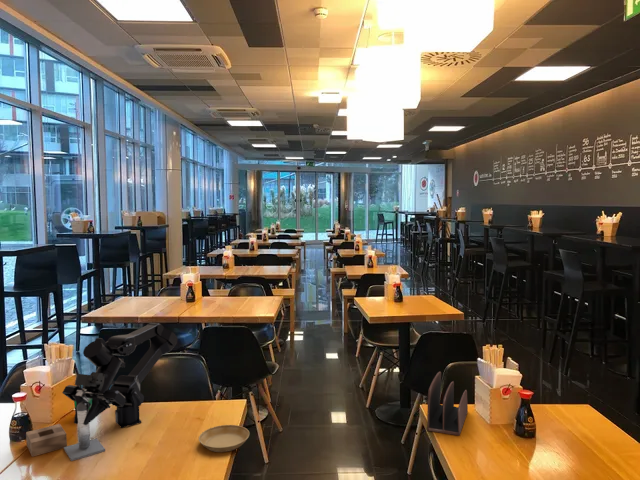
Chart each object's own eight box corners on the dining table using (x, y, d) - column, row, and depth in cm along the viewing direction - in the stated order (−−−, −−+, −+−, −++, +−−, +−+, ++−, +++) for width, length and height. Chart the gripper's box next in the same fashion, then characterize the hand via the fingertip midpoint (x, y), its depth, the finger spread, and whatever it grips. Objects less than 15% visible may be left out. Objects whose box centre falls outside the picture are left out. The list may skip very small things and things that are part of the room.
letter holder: (426, 431, 153) (426, 386, 152) (438, 407, 171) (438, 367, 170) (459, 436, 149) (459, 390, 148) (468, 412, 167) (468, 371, 166)
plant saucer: (238, 458, 138) (238, 449, 138) (189, 453, 141) (189, 444, 141) (256, 435, 152) (256, 426, 152) (211, 431, 155) (211, 422, 155)
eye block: (60, 436, 152) (59, 423, 152) (66, 446, 145) (66, 433, 145) (26, 445, 147) (26, 432, 146) (31, 456, 140) (31, 442, 139)
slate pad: (96, 440, 149) (96, 438, 149) (105, 450, 142) (105, 448, 142) (63, 449, 144) (63, 447, 144) (71, 461, 137) (71, 458, 137)
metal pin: (84, 442, 145) (82, 399, 144) (93, 444, 144) (91, 400, 143) (75, 447, 142) (73, 403, 141) (84, 449, 141) (82, 404, 140)
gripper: (65, 358, 148) (36, 409, 138) (117, 363, 143) (91, 416, 133) (86, 376, 156) (60, 424, 146) (136, 381, 151) (112, 432, 141)
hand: (79, 424), depth 141 cm, fingers closed on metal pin, 3 cm apart
